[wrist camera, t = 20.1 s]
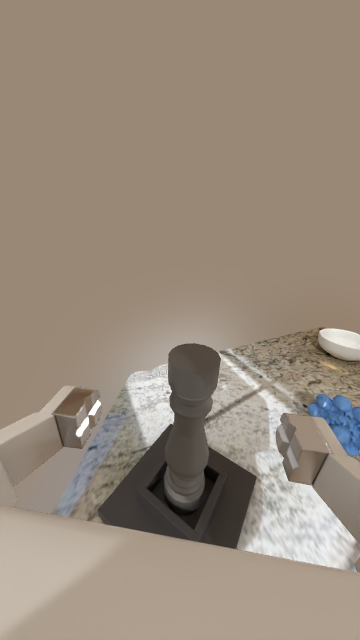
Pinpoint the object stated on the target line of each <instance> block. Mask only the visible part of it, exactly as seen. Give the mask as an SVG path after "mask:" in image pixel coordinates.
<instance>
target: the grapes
mask: <svg viewBox="0 0 360 640" xmlns="http://www.w3.org/2000/svg"><path fill="white" fill-rule="evenodd" d="M316 403H317V404H316ZM316 403H310V404H309V405H308V412H309V413H310V415H311V416H313V417H322V418H323V419H325V421H326V422H327V424H328V425H329V427H330V428H331V430H332V431H333V433H334V434H335V436H336V438H337V439H338V441H339V442H340V444H341V445H342V447H343V448H344V450H345V452H346V453H347V454H348V455H350V456H357V455H358V454H359V450H360V407H354V408H352V404H351V402H350V401H349V400H348V399H347V398H346V397H344V396H341V395H337V396H335V397H334V398H333V401H332V400H331V398H329V397H328V396H326V395H324V394H319V395H318V396H317V397H316Z"/></svg>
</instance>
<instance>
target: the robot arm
mask: <svg viewBox="0 0 360 640" xmlns="http://www.w3.org/2000/svg"><path fill="white" fill-rule="evenodd" d="M99 397H100V393H99V390H96V389H89V388H83V387H75V386H68V385H66V386H64V387H63V388H62V389H61V390H60V391H59V392H58V393H57V394H56V395H55V396H54V397H53V398H52V399H51V400H50V402H49V403H48V404H47V405H46V406H45V407H44V408H43V409H42V410H41V411H40V412H39V413H36V412H35V413H33V414H31V415H29V416H27V417H25V418H23V419H21V420H19V421H17V422H15V423H13V424H11V425H9V426H7V427H5V428H3V429H1V430H0V640H360V555H359V556H358V557H357V559H356V560H355V563H354V565H355V568H356V570H357V572H353V571H347V570H342V569H337V568H332V567H326V566H321V565H316V564H311V563H306V562H300V561H295V560H290V559H285V558H279V557H274V556H269V555H264V554H258V553H253V552H248V551H243V550H237V549H232V548H227V547H222V546H216V545H211V544H206V543H201V542H195V541H190V540H185V539H179V538H174V537H169V536H164V535H158V534H153V533H148V532H143V531H137V530H132V529H127V528H122V527H116V526H111V525H106V524H100V523H95V522H90V521H85V520H79V519H74V518H69V517H64V516H58V515H53V514H48V513H43V512H37V511H32V510H26V509H21V508H16V507H15V505H16V504H17V502H18V496H17V494H16V492H15V490H14V486H15V485H16V484H18V483H19V482H20V481H22V480H23V479H24V478H25V477H27V476H28V475H29V474H30V473H32V472H33V471H34V470H35V469H37V468H38V467H39V466H40V465H42V464H43V463H44V462H45V461H47V460H48V459H49V458H51V457H52V456H53V455H54V454H56V453H57V452H58V451H59V450H60V449H62V448H63V447H71V448H80V449H82V448H83V447H84V445H85V443H86V441H87V440H88V438H89V437H90V435H91V434H90V429H91V428H93V427H94V426H96V424H97V423H98V421H99V418H100V415H101V410H102V407H101V403H100V402H99V401H98V399H99ZM280 421H281V423H282V425H280V426H279V427H277V431H276V443H277V447H278V451H279V452H280V453H281V454H282V456H283V457H284V460H283V466H284V469H285V472H286V475H287V478H288V481H291V482H296V483H302V484H307V485H312V487H313V488H314V490H315V491H316V492H317V493H318V494H319V496H320V497H321V498H322V499H323V501H324V502H325V503H326V504H327V505H328V507H329V508H330V509H331V510H332V511H333V513H334V514H335V515H336V516H337V518H338V519H339V520H340V521H341V522H342V524H343V525H344V526H345V527H346V528H347V530H348V531H349V532H350V533H351V535H352V536H353V537H354V538H355V539H356V541H357V542H358V543H359V544H360V462H358V461H357V460H356V459H355V458H353V457H349V456H348V455H347V453H346V452H345V450H344V448H343V447H342V445H341V444H340V442H339V441H338V439H337V438H336V436H335V434H334V433H333V431H332V430H331V428H330V427H329V425H328V424H327V422H326V421H325V419H323V418H322V417H313V416H305V415H296V414H287V413H283V414H282V415H281V418H280Z"/></svg>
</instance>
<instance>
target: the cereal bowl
mask: <svg viewBox="0 0 360 640" xmlns="http://www.w3.org/2000/svg"><path fill="white" fill-rule="evenodd" d="M318 342H319V344H320V346H321V347H322V348H323V349H324V350H325V351H326V352H328V353H329V354H331V355H332V356H334V357H336V358H338V359H341V360H345V361H360V335H359V334H357V333H353V332H350V331H346V330H340V329H323V330H321V331H320V332H319V335H318Z"/></svg>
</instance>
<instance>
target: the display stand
mask: <svg viewBox="0 0 360 640" xmlns="http://www.w3.org/2000/svg"><path fill="white" fill-rule="evenodd" d="M172 427H173V425H172V424H170V425H169V426H168V427H167V428H166V430H165V431H164V432H163V433H162V434H161V436H160V437H159V438H158V439H157V440H156V441H155V443H154V444H153V445H152V446H151V447H150V449H149V450H148V451H147V452H146V453H145V455H144V456H143V457H142V458H141V459H140V461H139V462H138V463H137V464H136V465H135V466H134V468H133V469H132V470H131V471H130V472H129V474H128V475H127V476H126V477H125V478H124V480H123V481H122V482H121V483H120V484H119V486H118V487H117V488H116V489H115V490H114V492H113V493H112V494H111V495H110V496H109V497H108V499H107V500H106V501H105V502H104V503H103V505H102V506H101V507H100V508H99V509H98V515H99V517H100V518H101V519H102V520H103V521H104V523H105V524H106V525H111V526H116V527H122V528H127V529H132V530H137V531H143V532H148V533H153V534H158V535H164V536H169V537H174V538H179V539H185V540H190V541H195V542H201V543H206V544H211V545H216V546H222V547H227V548H232V549H236V546H237V543H238V539H239V536H240V532H241V529H242V526H243V522H244V519H245V515H246V512H247V508H248V505H249V501H250V498H251V494H252V491H253V488H254V484H255V481H256V476H255V475H253V474H252V473H250V472H248V471H247V470H245V469H243V468H242V467H240V466H239V465H237V464H235V463H234V462H232V461H230V460H229V459H227V458H226V457H224V456H222V455H221V454H219V453H218V452H216V451H214V450H213V449H211V448H209V447H208V450H209V456H208V463H207V465H206V467H205V468H204V478H205V485H204V492H203V499H202V503H201V505H200V507H199V508H198V510H197V511H196V512H194V513H193V514H191V515H188V516H180V515H178V514H175V513H174V512H173V511H172V510H171V509H170V508H169V507H168V506H167V503H166V501H165V498H164V475H165V472H166V469H167V466H168V464H167V462H166V460H165V446H166V444H167V441H168V438H169V436H170V433H171V430H172Z"/></svg>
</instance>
